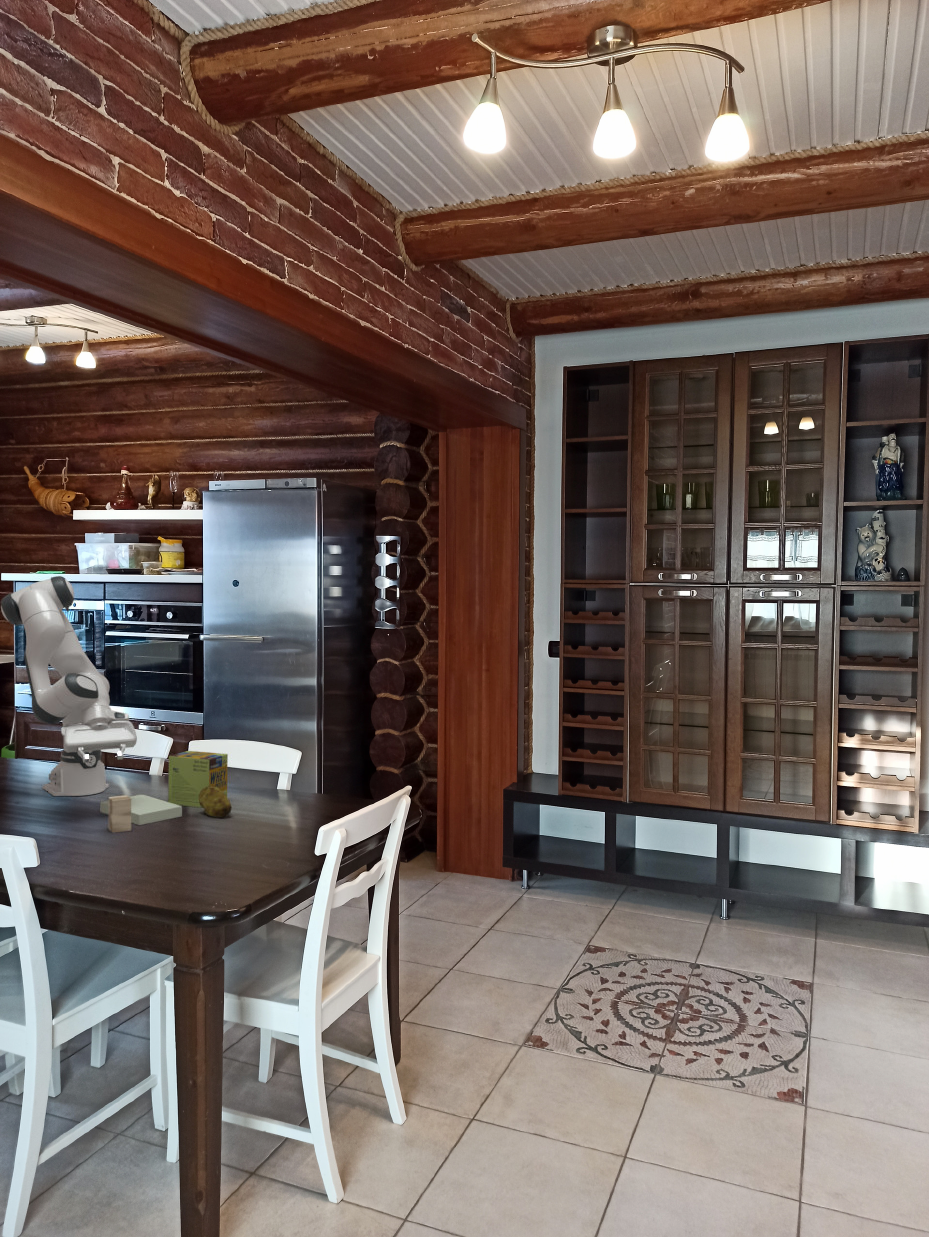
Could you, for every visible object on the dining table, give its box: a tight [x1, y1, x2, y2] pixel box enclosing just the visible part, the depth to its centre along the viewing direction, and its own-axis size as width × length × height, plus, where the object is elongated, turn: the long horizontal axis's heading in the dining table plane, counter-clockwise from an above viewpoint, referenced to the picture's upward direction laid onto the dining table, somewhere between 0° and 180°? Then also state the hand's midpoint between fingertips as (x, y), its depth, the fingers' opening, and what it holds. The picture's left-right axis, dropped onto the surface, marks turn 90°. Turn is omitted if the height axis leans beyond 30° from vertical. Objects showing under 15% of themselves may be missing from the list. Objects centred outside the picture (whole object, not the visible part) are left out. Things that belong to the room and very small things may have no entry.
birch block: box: [108, 794, 132, 833], centre depth 257 cm, size 5×5×9 cm
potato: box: [199, 786, 233, 818], centre depth 276 cm, size 8×13×8 cm, turn 27°
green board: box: [99, 794, 183, 826], centre depth 274 cm, size 22×14×3 cm, turn 50°
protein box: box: [167, 750, 228, 809], centre depth 290 cm, size 10×15×16 cm
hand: (103, 759), depth 266 cm, fingers open, 8 cm apart
